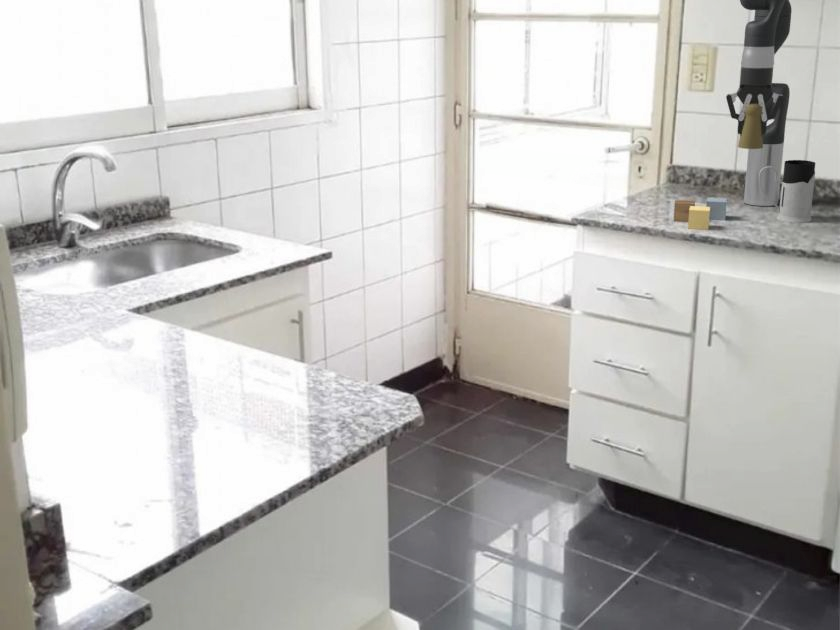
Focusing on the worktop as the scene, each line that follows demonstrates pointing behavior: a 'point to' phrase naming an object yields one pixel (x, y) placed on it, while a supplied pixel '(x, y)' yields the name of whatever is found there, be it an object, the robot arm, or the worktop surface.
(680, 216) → the walnut block
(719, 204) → the slate block
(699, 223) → the mustard block
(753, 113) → the cork
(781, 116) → the robot arm
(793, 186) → the glass holder
